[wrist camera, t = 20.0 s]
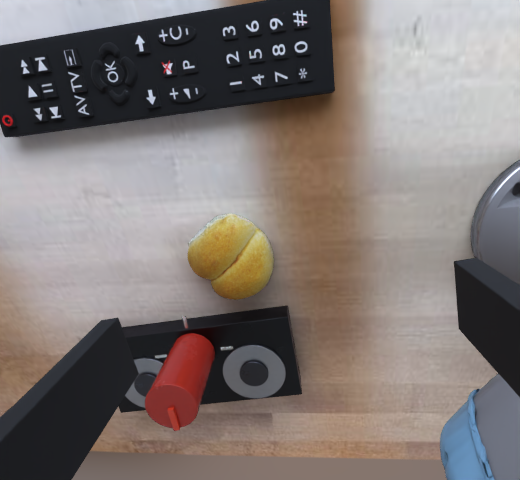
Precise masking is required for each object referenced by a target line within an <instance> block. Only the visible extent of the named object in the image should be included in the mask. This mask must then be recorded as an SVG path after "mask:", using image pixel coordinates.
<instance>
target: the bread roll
mask: <svg viewBox="0 0 520 480" xmlns="http://www.w3.org/2000/svg"><path fill="white" fill-rule="evenodd" d="M188 245H189V250H188V261H189V264H190V266H191V268H192V270H193V271H194V272H195V273H196V274H197V275H198V276H200V277H202V278H205V279H209V280H211V285H212V287H213V289H214V291H215V292H216V293H217V294H218V295H220V296H222V297H224V298H228V299H234V300H237V299H243V298H247V297H250V296H252V295H255V294H256V293H258V292H259V291H261V290H262V289H263V288H264V287H265V286H266V285H267V283H268V281H269V279H270V277H271V274H272V271H273V264H274V257H273V251H272V247H271V245H270V242H269V240H268V238H267V236H266V235H265V234H264V233H263V232H262V231H261V230H260V229H258V228H257V227H256V226H255V225H254V224H253V223H252V222H251V221H250V220H248V219H246V218H244V217H241V216H238V215H235V214H224V215H220V216H216V217H215V218H214V219H212V220H211V221H210V222H209V223H207V224H206V225H205V226H204V227H203V228H202V229H201V230H200V231H199V232H198V233H197V235H196V236H194V237H193V239H192V240H191V241H190V242H189V243H188Z"/></svg>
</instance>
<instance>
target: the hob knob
mask: <svg viewBox="0 0 520 480" xmlns="http://www.w3.org/2000/svg"><path fill="white" fill-rule="evenodd" d="M214 358H215V350H214V347H213V345H212V343H211V342H210V341H209V340H208V339H207V338H205V337H204V336H202V335H199V334H194V333H189V334H185V335H182V336H180V337H179V338H177V339H176V341H175V342H174V344H173V346H172V348H171V350H170V351H169V353H168V355H167V357H166V359H165V361H164V363H163V365H162V367H161V369H160V370H159V372H158V374H157V376H156V378H155V380H154V382H153V384H152V386H151V388H150V389H149V391H148V393H147V395H146V398H145V408H146V411H147V413H148V415H149V416H150V417H151V418H152V419H153V420H154V421H155V422H157V423H158V424H160V425H162V426H165V427H170V428H173V430H174V431H176V430H180V427H184V426H187V425H188V424H190V423H191V422H192V421H193V420H194V419H195V418H196V416H197V413H198V410H199V406H200V403H201V400H202V397H203V394H204V390H205V387H206V384H207V381H208V377H209V374H210V371H211V368H212V365H213V361H214Z"/></svg>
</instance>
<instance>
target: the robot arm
mask: <svg viewBox="0 0 520 480" xmlns="http://www.w3.org/2000/svg"><path fill="white" fill-rule="evenodd" d="M471 245H472V251H473V254H474V257H475V258H472V259H466V260H460V261H454V268H455V281H456V295H457V309H458V323H459V329H460V331H461V332H462V333H463V334H464V335H465V336H466V337H467V338H468V340H469V341H470V342H471V343H472V344H473V345H474V346H475V348H476V349H477V350H478V351H479V352H480V353H481V354H482V355H483V357H484V358H485V359H486V360H487V361H488V362H489V363H490V364H491V366H492V367H493V368H494V369H495V370H496V371H497V372H498V374H497V375H496V376H495V377H494V378H492V379H491V380H490V381H489V382H488V383H487V384H486V385H485V386H484V387H482V388H481V389H477V390H474V391H472V392H471V393H470V395H469V397H468V401H467V402H466V403H465V404H464V405H463V406H462V407H461V408H460V409H459V410H458V411H457V412H456V413H455V414H454V415H453V416H452V417H451V418H450V419H449V420H448V421H447V423H446V424H445V426H444V427H443V430H442V433H441V437H440V452H441V459H442V462H443V465H444V469H445V473H446V478H447V480H520V160H519V161H517V162H515V163H514V164H513V165H511V166H510V167H509V168H507V169H506V170H505V171H504V172H503V173H501V174H500V175H499V176H498V177H497V178H496V179H495V181H494V182H493V183H492V184H491V185H490V186H489V188H488V189H487V191H486V192H485V193H484V195H483V197H482V198H481V200H480V202H479V204H478V206H477V209H476V211H475V214H474V218H473V222H472V227H471ZM138 374H139V373H138V370H137V367H136V365H135V362H134V359H133V357H132V354H131V351H130V348H129V346H128V343H127V340H126V338H125V335H124V332H123V330H122V327H121V324H120V322H119V319H118V318H113V319H107V320H101V321H100V322H99V323H98V324H97V325H96V326H95V327H94V328H93V329H92V330H91V331H90V332H89V333H88V334H87V335H86V336H85V337H84V338H83V339H82V340H81V341H80V342H79V343H78V344H77V345H75V346H74V347H73V348H72V349H71V350H70V351H69V352H68V353H67V354H66V355H65V356H64V357H63V358H62V359H61V360H60V361H59V362H58V363H57V364H56V365H55V366H54V367H53V368H52V369H51V370H50V371H49V372H48V373H47V374H46V375H45V376H44V377H43V378H42V379H40V380H39V381H38V382H37V383H36V384H35V385H34V386H33V387H32V388H31V389H30V390H29V391H28V392H27V393H26V394H25V395H24V396H23V397H22V398H21V399H20V400H19V401H18V402H17V403H16V404H15V405H14V406H13V407H11V408H10V409H9V410H7V411H6V412H5V413H4V414H3V415H2V416H1V417H0V480H71V479H72V478H73V476H74V475H75V473H76V472H77V470H78V468H79V467H80V465H81V464H82V462H83V461H84V459H85V457H86V456H87V454H88V453H89V451H90V450H91V448H92V447H93V445H94V443H95V442H96V440H97V439H98V437H99V436H100V434H101V432H102V431H103V429H104V428H105V426H106V425H107V423H108V421H109V420H110V418H111V417H112V415H113V414H114V412H115V410H116V409H117V407H118V406H119V404H120V403H121V401H122V400H123V398H124V396H125V395H126V393H127V392H128V390H129V389H130V387H131V385H132V384H133V382H134V381H135V379H136V378H137V376H138Z"/></svg>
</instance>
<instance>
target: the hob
mask: <svg viewBox="0 0 520 480" xmlns="http://www.w3.org/2000/svg"><path fill="white" fill-rule="evenodd" d="M182 319H183V320H176V321H168V322H161V323H153V324H146V325H138V326H131V327H123V328H122V330H123V332H124V335H125V338H126V340H127V343H128V346H129V348H130V351H131V354H132V357H133V359H136V358H141V357H150V358H155V359H158V360H160V361H162V362H164V361H165V359H166V357H167V355H168V353H169V351H170V350H171V348H172V346H173V344H174V342H175V341H176V339H177V338H179V337H180V336H182V335H185V334H189V333H194V334H199V335H202V336H204V337H205V338H207V339H208V340H209V341H210V342H211V343H212V345H213V347H214V350H215V358H214V361H213V365H212V368H211V371H210V374H209V377H208V381H207V384H206V387H205V390H204V394H203V397H202V400H201V403H200V405H201V404H210V403H220V402H230V401H240V400H250V399H259V398H248V397H244V396H242V395H239V394H237V393H236V392H234V391H233V390H232V389H231V388H230V387H229V386H228V384H227V383H226V381H225V379H224V376H223V365H224V361H225V359H226V357H227V356H228V355H229V354H230V352H232V351H233V350H234V349H236V348H238V347H240V346H243V345H248V344H257V345H262V346H266V347H268V348H270V349H272V350H273V351H275V352H276V353H277V354H278V355H279V356H280V357H281V359H282V361H283V363H284V365H285V370H286V375H285V380H284V383H283V385H282V386H281V388H280V389H279V390H278V391H277V392H275V393H274V394H272V395H270V396H268V397H264V398H269V397H279V396H289V395H299V394H302V388H301V377H300V371H299V366H298V360H297V355H296V349H295V344H294V338H293V332H292V327H291V321H290V316H289V310H288V306H281V307H273V308H266V309H258V310H251V311H243V312H236V313H228V314H221V315H213V316H206V317H198V318H191V319H186V316H182ZM119 409H120V411H121V413H122V412H132V411H142V410H146V408H144V407H141V406H138V405H136V404H134V403H133V402H131V401H130V400H129V399H128V398H127V397H126V396H124V398H123V400H122V401H121V403H120V404H119Z"/></svg>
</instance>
